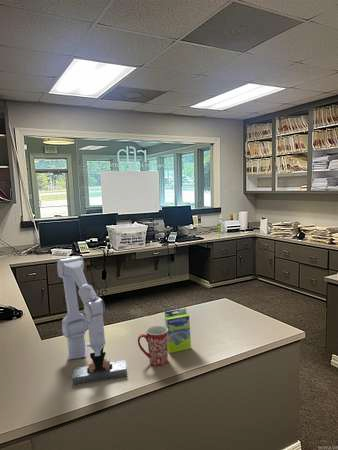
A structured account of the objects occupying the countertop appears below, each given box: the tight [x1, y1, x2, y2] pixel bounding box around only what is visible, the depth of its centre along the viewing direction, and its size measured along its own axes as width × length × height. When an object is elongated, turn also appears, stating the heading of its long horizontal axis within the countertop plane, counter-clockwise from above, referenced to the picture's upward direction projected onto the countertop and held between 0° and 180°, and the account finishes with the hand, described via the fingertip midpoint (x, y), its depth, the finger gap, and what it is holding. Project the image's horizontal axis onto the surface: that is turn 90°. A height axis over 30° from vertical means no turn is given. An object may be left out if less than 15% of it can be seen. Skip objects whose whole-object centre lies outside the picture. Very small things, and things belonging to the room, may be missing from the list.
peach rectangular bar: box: [87, 357, 111, 373], centre depth 127 cm, size 2×8×6 cm, turn 101°
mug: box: [137, 325, 169, 367], centre depth 135 cm, size 13×9×14 cm
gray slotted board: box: [71, 359, 128, 386], centre depth 128 cm, size 7×20×3 cm, turn 102°
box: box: [164, 307, 192, 354], centre depth 144 cm, size 11×4×17 cm, turn 108°
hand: (99, 365), depth 127 cm, fingers open, 7 cm apart
